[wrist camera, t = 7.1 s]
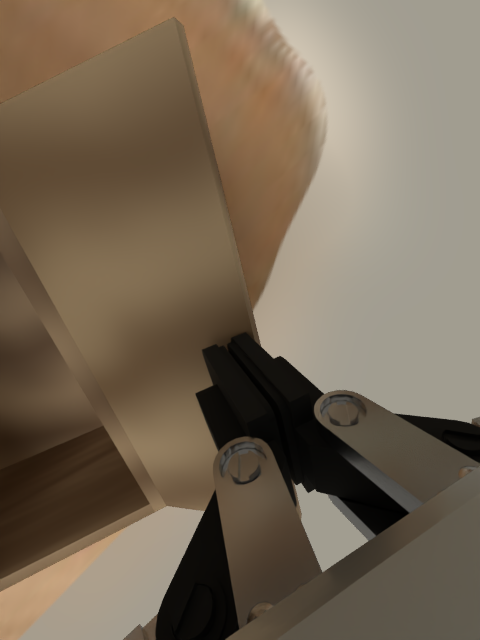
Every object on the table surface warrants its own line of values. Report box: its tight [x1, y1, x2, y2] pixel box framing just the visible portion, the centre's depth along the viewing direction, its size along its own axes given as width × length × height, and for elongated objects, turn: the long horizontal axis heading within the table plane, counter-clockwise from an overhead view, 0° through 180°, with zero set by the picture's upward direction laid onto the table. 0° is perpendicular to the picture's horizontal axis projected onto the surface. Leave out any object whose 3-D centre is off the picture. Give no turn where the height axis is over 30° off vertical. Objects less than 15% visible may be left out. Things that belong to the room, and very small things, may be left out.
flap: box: [0, 17, 301, 520], centre depth 12 cm, size 19×8×1 cm
